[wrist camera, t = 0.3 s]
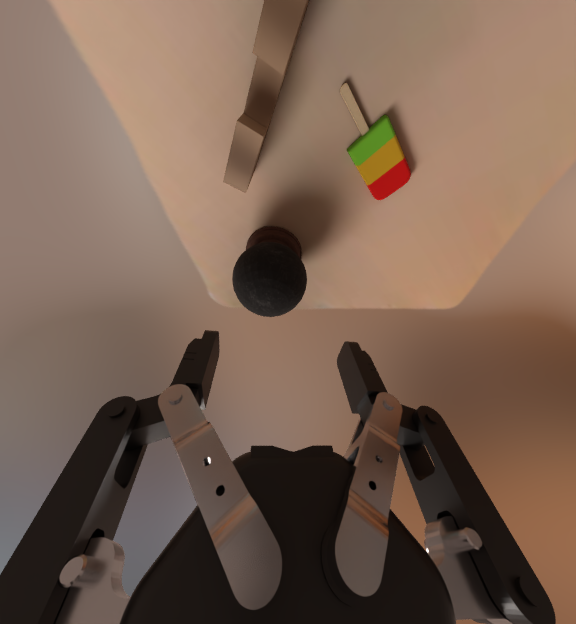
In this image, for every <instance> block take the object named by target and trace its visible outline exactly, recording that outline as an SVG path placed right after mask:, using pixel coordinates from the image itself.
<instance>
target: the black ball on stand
mask: <svg viewBox="0 0 576 624" xmlns="http://www.w3.org/2000/svg"><path fill="white" fill-rule="evenodd" d="M232 280H233V287H234V291H235V293H236V295H237V298H238V299H239V301H240V302H241V303H242V304H243V306H244V307H246V308H247V309H248V310H250V311H251V312H253V313H255V314H257V315H261V316H267V317H274V316H280V315H282V314H285V313H287V312H289V311H290V310H292V309H293V308H295V307H296V305H297V304H298V303H299V302H300V301H301V299H302V297H303V295H304V293H305V289H306V284H307V276H306V270H305V267H304V264H303V262H302V261H301V246H300V243H299V241H298V240H297V238H296V237H295V236H294V235H293V234H292V233H290V232H289V231H287V230H285V229H283V228H280V227H272V226H271V227H264V228H261V229H259V230H257V231H255V232H254V233H253V234H252V235H251V236H250V238H249V240H248V242H247V246H246V251H245V252H243V253H242V254H241V256H240V257H239V259H238V260H237V262H236V264H235V267H234V270H233V279H232Z"/></svg>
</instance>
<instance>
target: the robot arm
mask: <svg viewBox="0 0 576 624" xmlns="http://www.w3.org/2000/svg"><path fill="white" fill-rule="evenodd" d="M218 358H219V332H218V331H208V330H205V332H204V334H203V337H202V339H194V340H193V341H192V342H191V343H190V344H189V345H188V347H187V349H186V351H185V354H184V356H183V358H182V360H181V363H180V365H179V368H178V370H177V372H176V374H175V377H174V379H173V381H172V383H171V385H170V386H169V387H168V388H167V389H165V390H164V391H163V392H162V393H161V394H160V395H157V396H154V397H150V398H147V399H142V400H139V401H135V399H133V398H132V397H128V396H123V397H118V398H115V399H112V400H111V401H109V402H107V403H106V404H105V405H104V406H102V407H101V409H100V410H99V411H98V413H97V414H96V416H95V418H94V420H93V421H92V423H91V425H90V426H89V428H88V430H87V431H86V433H85V434H84V436H83V438H82V440H81V441H80V443H79V444H78V446H77V448H76V450H75V451H74V453H73V455H72V456H71V458H70V460H69V461H68V463H67V464H66V466H65V468H64V469H63V471H62V473H61V474H60V476H59V478H58V480H57V481H56V483H55V485H54V486H53V488H52V490H51V491H50V493H49V495H48V496H47V498H46V500H45V501H44V503H43V505H42V506H41V508H40V510H39V511H38V513H37V515H36V516H35V518H34V520H33V522H32V523H31V525H30V526H29V528H28V530H27V531H26V533H25V535H24V536H23V538H22V540H21V541H20V543H19V545H18V546H17V548H16V550H15V551H14V553H13V555H12V556H11V558H10V560H9V561H8V563H7V565H6V566H5V568H4V570H3V571H2V573H1V575H0V624H456V620H457V619H472V620H474V621H476V622H479V623H486V624H555V613H554V609H553V606H552V604H551V602H550V599H549V597H548V595H547V594H546V592H545V590H544V588H543V587H542V585H541V583H540V582H539V580H538V578H537V577H536V575H535V573H534V571H533V570H532V568H531V566H530V565H529V563H528V561H527V560H526V558H525V556H524V555H523V553H522V551H521V550H520V548H519V546H518V545H517V543H516V541H515V539H514V538H513V536H512V534H511V533H510V531H509V529H508V528H507V526H506V524H505V523H504V521H503V519H502V518H501V516H500V514H499V513H498V511H497V509H496V507H495V506H494V504H493V502H492V501H491V499H490V497H489V496H488V494H487V493H486V491H485V489H484V487H483V486H482V484H481V482H480V481H479V479H478V477H477V475H476V474H475V472H474V470H473V469H472V467H471V465H470V464H469V462H468V461H467V459H466V457H465V455H464V454H463V452H462V450H461V449H460V447H459V445H458V443H457V442H456V440H455V439H454V437H453V435H452V434H451V432H450V430H449V428H448V427H447V425H446V424H445V422H444V420H443V418H442V417H441V416H440V415H439V414H438V413H437V412H436V411H435V410H434V409H432V408H430V407H428V406H420V407H419V408H418V409H417V410H415V409H413V408H409V407H407V406H404V405H401V404H400V402H399V401H398V400H397V398H395V397H394V396H393V395H391V394H389V393H388V392H387V390H386V388H385V386H384V384H383V382H382V380H381V378H380V376H379V374H378V372H377V371H376V368H375V366H374V363H373V361H372V360H371V358H370V356H369V355H368V354H367V353H366V352H365V351H362V350H361V348H360V346H359V344H358V343H357V342H344V344H343V346H342V349H341V351H340V353H339V355H338V358H337V365H338V369H339V372H340V376H341V379H342V382H343V385H344V388H345V391H346V395H347V398H348V401H349V404H350V408H351V411H352V413H359V415H360V419H359V421H358V424H357V426H356V429H355V432H354V435H353V437H352V440H351V442H350V445H349V447H348V449H347V451H346V453H345V455H344V457H342V456H341V455H339V454H337V453H335V452H333V448H332V446H311V447H307V448H305V449H302V450H298V451H295V452H292V451H288V450H284V449H281V448H278V447H274V446H251V452H248V453H245V454H243V455H241V456H239V457H238V458H236V459H235V460H234V461H231V459H230V457H229V455H228V454H227V452H226V450H225V448H224V446H223V444H222V443H221V441H220V439H219V437H218V435H217V433H216V432H215V430H214V428H213V426H212V425H211V423H210V422H208V421H207V420H206V418H205V416H204V414H203V413H202V410H201V409H205V408H206V404H207V400H208V396H209V393H210V389H211V385H212V381H213V377H214V373H215V369H216V366H217V361H218ZM168 437H171V439H172V442H173V444H174V447H175V450H176V452H177V454H178V457H179V460H180V462H181V465H182V467H183V470H184V472H185V475H186V477H187V480H188V482H189V485H190V487H191V490H192V492H193V495H194V497H195V500H196V502H197V506H196V508H195V509H194V511H193V512H192V513H191V515H190V516H189V517H188V518H187V520H186V521H185V522H184V524H183V525H182V526H181V528H180V529H179V530H178V532H177V533H176V534H175V536H174V537H173V538H172V539H171V541H170V542H169V543H168V545H167V546H166V547H165V549H164V550H163V551H162V553H161V554H160V555H159V557H158V558H157V559H156V561H155V562H154V563H153V565H152V566H151V567H150V569H149V570H148V571H147V572H146V574H145V575H144V577H143V578H142V579H141V581H140V582H139V584H138V585H137V587H136V589H135V590H134V592H133V594H132V596H131V597H130V596H128V595H127V594H126V593H125V591H124V589H123V586H122V571H123V565H124V559H125V556H124V551H123V548H122V546H121V545H120V544H118V543H116V542H114V541H113V538H114V536H115V533H116V530H117V527H118V525H119V522H120V519H121V516H122V514H123V511H124V508H125V506H126V503H127V500H128V497H129V494H130V492H131V489H132V486H133V483H134V481H135V478H136V475H137V472H138V470H139V467H140V464H141V461H142V459H143V456H144V453H145V451H146V448H147V445H148V444H149V443H152V442H156V441H159V440H162V439H165V438H168ZM424 445H425V446H426V448H427V450H428V452H429V454H430V456H431V459H432V461H433V463H434V465H433V463H432V461H431V459H430V457H429V455H428V453H427V451H426V448H425V446H424ZM399 453H400V455H401V458H402V461H403V463H404V466H405V468H406V471H407V474H408V476H409V479H410V482H411V484H412V487H413V490H414V492H415V495H416V497H417V500H418V503H419V505H420V508H421V511H422V513H423V516H424V519H425V521H426V524H427V525H426V528H425V542H424V543H425V548H426V550H427V551H428V553H429V555H428V553H427V552H426V551H425V550H424V549H423V547H422V546H421V545H420V544H419V543H418V541H417V540H416V539H415V538H414V537H413V536H412V534H411V533H410V532H409V531H408V530H407V528H406V527H405V526H404V525H403V524H402V522H401V521H400V520H399V519H398V518H397V517H396V515H395V514H394V513H393V512H392V511H391V509H390V504H391V498H392V492H393V487H394V481H395V476H396V470H397V464H398V458H399ZM434 466H435V467H434Z"/></svg>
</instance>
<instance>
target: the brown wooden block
mask: <svg viewBox="0 0 576 624" xmlns="http://www.w3.org/2000/svg"><path fill="white" fill-rule="evenodd" d="M308 3H309V0H264V4H263V9H262V13H261V17H260V22H259V26H258V31H257V35H256V39H255V44H254V48H253V53H254V54H255V55H257V60H256V64H255V68H254V72H253V76H252V81H251V85H250V89H249V93H248V97H247V101H246V106H245V110H244V113H243V114H242V116H241V117H240V118H239V119H238V120H237V123H236V127H235V132H234V136H233V141H232V145H231V149H230V154H229V158H228V163H227V167H226V171H225V176H224V180H223V182H225V183H227V184H229V185H231V186H233V187H235V188H237V189H238V190H240V191H242V192H244V193H246V191H247V189H248V186H249V184H250V181H251V179H252V176H253V173H254V170H255V167H256V164H257V161H258V158H259V155H260V152H261V149H262V146H263V142H264V139H265V136H266V133H267V130H268V127H269V124H270V121H271V118H272V115H273V111H274V108H275V105H276V102H277V99H278V96H279V93H280V90H281V87H282V84H283V81H284V77H285V74H286V71H287V68H288V65H289V62H290V59H291V56H292V53H293V50H294V46H295V43H296V40H297V37H298V34H299V31H300V28H301V25H302V22H303V19H304V15H305V12H306V9H307V6H308Z"/></svg>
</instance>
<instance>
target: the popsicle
mask: <svg viewBox="0 0 576 624" xmlns="http://www.w3.org/2000/svg"><path fill="white" fill-rule="evenodd" d="M340 93H341V95H342V97H343V99H344V101H345V103H346V105H347V107H348V109H349V111H350V113H351V115H352V117H353V119H354V121H355V123H356V125H357V127H358V129H359V131H360V133H361V136H360V137H359V138H358V139H357V140H356V141H355V142H354V143H353V144H352V145H351V146H350V147H349V148H347V151H348V153H349V155H350V157H351V158H352V160H353V162H354V164H355V165H356V167H357V169H358V171H359V172H360V174H361V176H362V178H363V179H364V181H365V183H366V185H367V186H368V188H369V190H370V192H371V193H372V195H373V197H374V198H375V199H377V200H382V199H384V198H386V197H388V196H389V195H391V194H392V193H393V192H395V191H396V190H398V189H399V188H400V187H402V186H403V185H404V184H406V183H407V182H408V180H409V179H410V176H411V172H410V169H409V166H408V164H407V161H406V159H405V156H404V154H403V151H402V149H401V146H400V144H399V142H398V139H397V137H396V134H395V132H394V129H393V127H392V124H391V122H390V119H389V117H388V116H387V115H383V116H382V117H381V118H380V119H379V120H378V121H377V122H375V123H374V124H373V125H372V126H371V127H370V128H368V126H367V124H366V122H365V120H364V118H363V116H362V113H361V111H360V109H359V107H358V105H357V103H356V101H355V99H354V97H353V95H352V92H351V90H350V88H349V86H348V84H347V83H344V84H343V85H342V86H341V88H340ZM363 162H364V163H363Z"/></svg>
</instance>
